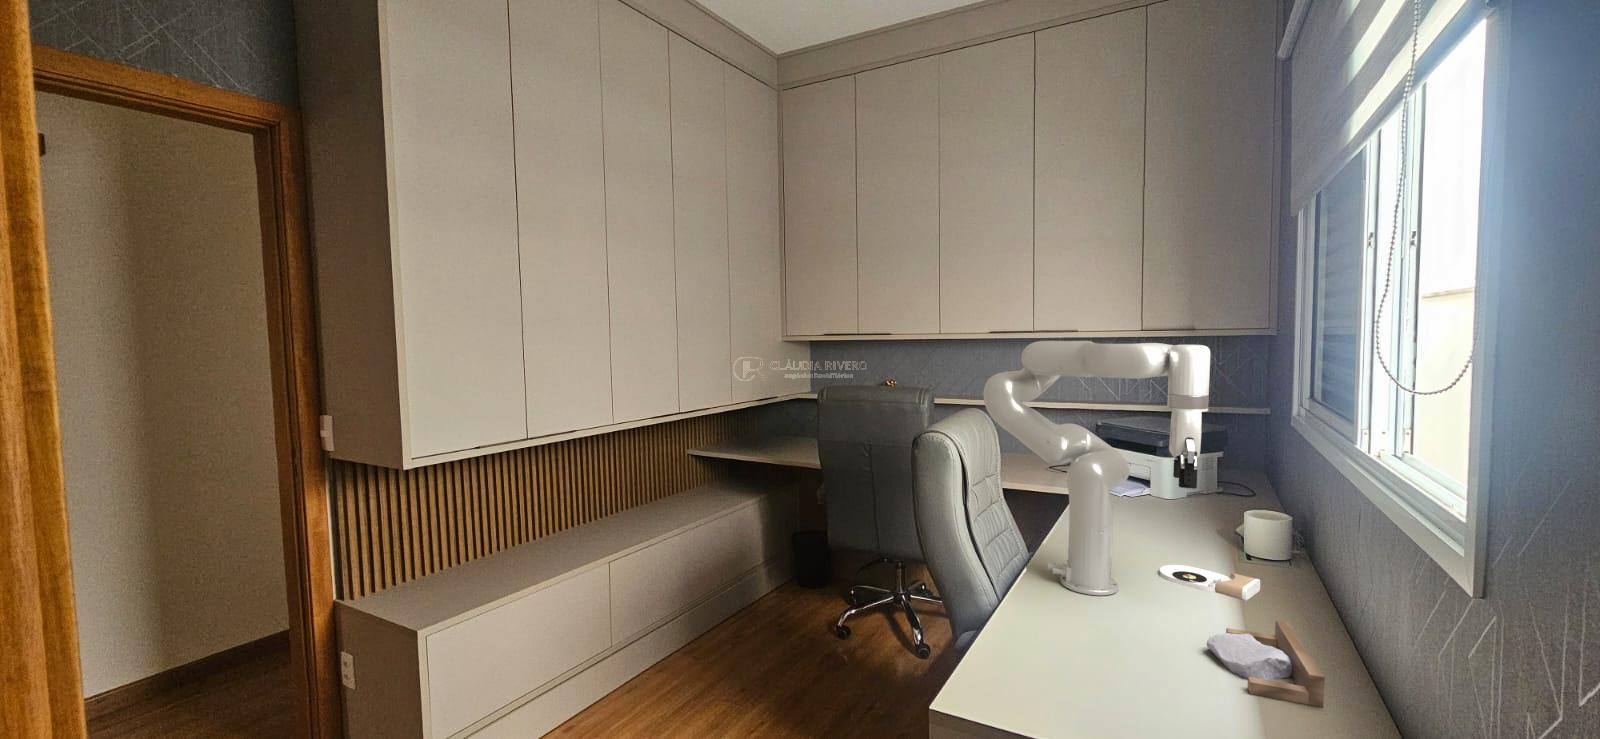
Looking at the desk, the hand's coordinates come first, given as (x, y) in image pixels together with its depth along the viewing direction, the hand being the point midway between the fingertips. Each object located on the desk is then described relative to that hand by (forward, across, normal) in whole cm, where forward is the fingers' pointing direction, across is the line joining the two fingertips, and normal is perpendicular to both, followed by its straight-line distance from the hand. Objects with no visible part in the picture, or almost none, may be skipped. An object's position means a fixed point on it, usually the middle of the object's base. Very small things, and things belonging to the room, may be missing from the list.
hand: (1184, 482), depth 142 cm
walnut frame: (+28, +21, +12) cm, 37 cm away
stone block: (+29, +20, +8) cm, 36 cm away
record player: (+29, -22, +8) cm, 37 cm away
